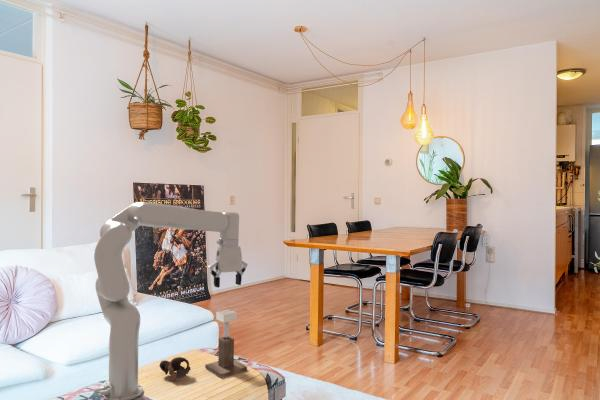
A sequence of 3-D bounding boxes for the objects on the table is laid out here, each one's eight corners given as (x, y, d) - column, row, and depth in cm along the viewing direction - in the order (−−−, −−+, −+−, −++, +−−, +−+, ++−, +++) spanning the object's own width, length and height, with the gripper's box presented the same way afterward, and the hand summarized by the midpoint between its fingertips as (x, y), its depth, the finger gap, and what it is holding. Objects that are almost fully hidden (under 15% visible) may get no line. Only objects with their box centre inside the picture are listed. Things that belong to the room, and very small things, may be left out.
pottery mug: (191, 371, 174) (194, 357, 170) (183, 391, 165) (186, 377, 162) (162, 364, 173) (164, 349, 170) (152, 383, 165) (154, 369, 161)
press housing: (220, 378, 167) (220, 345, 167) (205, 368, 176) (205, 337, 176) (246, 370, 175) (247, 339, 174) (231, 361, 184) (231, 331, 184)
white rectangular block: (223, 353, 171) (223, 314, 171) (215, 348, 176) (216, 311, 175) (236, 349, 175) (237, 312, 175) (228, 345, 179) (229, 309, 179)
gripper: (214, 244, 167) (212, 289, 167) (252, 243, 178) (251, 285, 178) (205, 242, 173) (203, 286, 173) (242, 241, 184) (241, 282, 184)
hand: (227, 285), depth 176 cm, fingers open, 9 cm apart
